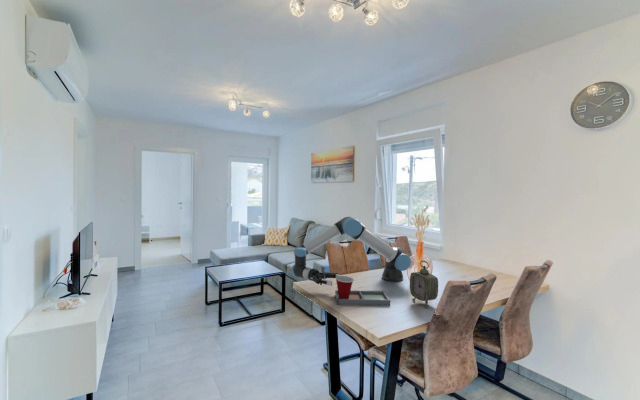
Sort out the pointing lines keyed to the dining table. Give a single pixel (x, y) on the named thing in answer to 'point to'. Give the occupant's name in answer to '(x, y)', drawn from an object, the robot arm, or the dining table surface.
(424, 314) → the dining table surface
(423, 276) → the tabletop clock
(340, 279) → the plastic cup
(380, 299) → the organiser tray
